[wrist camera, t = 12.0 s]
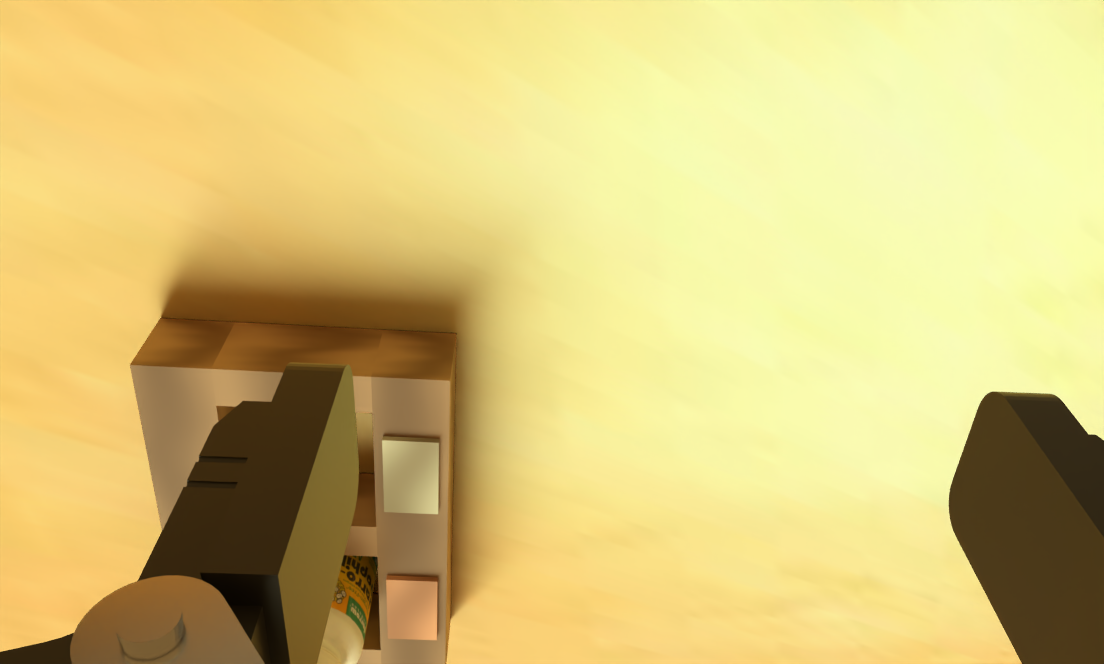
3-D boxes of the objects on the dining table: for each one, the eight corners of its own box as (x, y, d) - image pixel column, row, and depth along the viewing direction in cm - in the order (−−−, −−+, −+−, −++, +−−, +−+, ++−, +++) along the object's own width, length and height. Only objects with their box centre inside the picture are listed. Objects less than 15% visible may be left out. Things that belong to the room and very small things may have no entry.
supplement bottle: (263, 541, 53) (213, 687, 45) (331, 494, 51) (292, 637, 43) (334, 593, 55) (298, 741, 47) (401, 550, 53) (376, 696, 45)
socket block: (456, 333, 46) (449, 384, 42) (450, 620, 56) (444, 681, 53) (160, 318, 45) (127, 368, 42) (210, 611, 56) (187, 672, 52)
